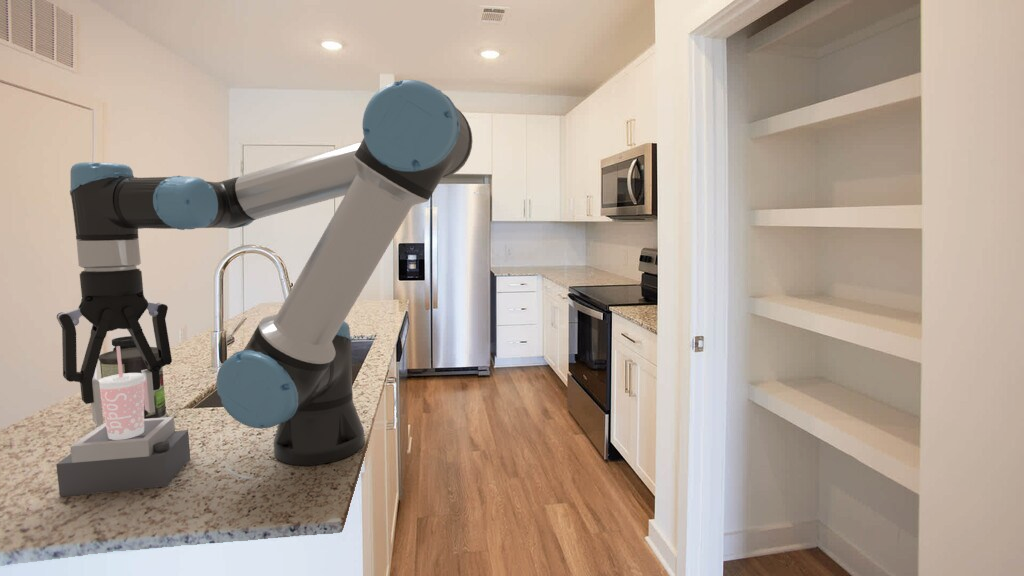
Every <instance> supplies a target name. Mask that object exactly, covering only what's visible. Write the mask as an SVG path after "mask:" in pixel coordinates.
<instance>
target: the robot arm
mask: <svg viewBox="0 0 1024 576" xmlns="http://www.w3.org/2000/svg"><path fill="white" fill-rule="evenodd" d="M361 125H362V133H363V139H362V141H358V142H355V143H351V144H348V145H344V146H340V147H336V148H334V149H330V150H326V151H323V152H318V153H316V154H313V155H310V156H305V157H301V158H299V159H295V160H291V161H288V162H284V163H282V164H278V165H275V166H270V167H267V168H264V169H260V170H257V171H253V172H250V173H245V174H243V175H240V176H237V177H233V178H229V179H226V180H225V179H224V180H222V181H217V182H214V181H207V180H205V179H203V178H200V177H195V176H193V177H191V176H183V175H173V176H159V177H158V176H156V177H155V176H154V177H152V176H151V177H135V176H134V173H133V169H132V168H131V167H130V166H129V165H127V164H120V163H111V162H87V161H86V162H77V163H75V164H73V165H72V166H71V168H70V174H69V175H70V191H69V195H70V197H71V199H70V200H71V204H72V210H73V211H72V212H73V221H74V230H75V238H76V239H75V240H76V248H77V251H76V252H77V260H78V266H79V267H80V268H82V269H84V270H82V271H81V272H79V283H80V284H79V285H80V292H81V301H80V304H79V306H78V308H76V309H73V310H70V311H66V312H59V313H57V315H56V320H57V322H58V324H59V325H60V327H61V333H62V334H61V335H62V336H61V337H62V345H61V346H62V376H63V378H64V379H65V380H66V381H67V382H70V383H71V382H76V383H79V384H80V385H79V386H80V394H81V400H82V402H83V403H84V404H85V405H89V404H90V405H91V416H92V422H93V423H94V424H95V425H96V426H100V425H102V424H103V423H104V417H103V416H104V414H103V406H102V401H101V395H100V385H99V381H98V380H99V379H96V378H94V376H95V373H96V369H97V365H98V362H99V356H100V355H101V350H102V347H103V344H104V340H105V338H106V337H107V334H108V332H112V331H116V330H118V329H120V330H126V331H128V333H129V335H130V336H132V338H133V340H134V342H135V344H136V346H137V348H138V350H139V352H140V354H141V356H142V358H143V360H144V362H145V364H146V366H147V369H148V370H147V369H146V370H141V373H143V374H144V375H145V381H144V382H143V383H144V407H145V410H146V411H147V412H149V413H154V412H155V403H154V392H153V390H158V389H159V388H160V377H159V371H160V370H161V367H162V368H163V367H165V366H167V365H168V366H169V365H171V364H172V362H173V358H172V352H171V346H170V340H169V334H168V328H167V321H166V317H167V314H168V309H169V307H168V305H167V304H164V303H161V302H157V303H155V302H149V301H148V300H147V298H146V297H145V295H144V284H143V274H142V270H141V269H140V268H138V267H137V266H139V265H141V264H142V260H141V251H140V241H139V230H140V229H143V230H144V229H154V230H157V229H158V230H159V229H160V230H180V231H185V230H195V229H210V228H211V229H215V228H216V229H221V228H222V229H236V228H242V227H246V226H249V225H251V224H253V222H254V221H256V220H259V219H262V218H266V217H270V216H273V215H277V214H280V213H284V212H288V211H292V210H296V209H299V208H302V207H307V206H310V205H315V204H318V203H321V202H325V201H329V200H334V199H336V198H337V199H338V198H341V197H343V198H342V200H341V202H340V203H339V205H338V207H337V208H336V211H335V213H334V214H333V216H332V218H331V219H330V221H329V223H328V224H327V226H326V228H325V230H324V231H323V233H322V235H321V237H320V238H319V240H318V242H317V243H316V245H315V248H314V249H313V251H312V252H311V255H309V258H308V260H307V261H306V263H305V266H303V269H302V270H301V271H300V274H299V276H298V277H297V279H296V280H295V282H294V284H293V286H292V288H291V289H290V291H289V293H288V294H287V297H286V299H285V300H284V302H283V304H282V305H281V307H280V308H279V311H278V312H277V314H274V315H269V316H265V317H263V318H262V319H261V320H260V321H259V323H258V325H257V327H256V328H255V330H254V331H253V334H252V335H251V337H250V339H249V341H248V342H247V344H246V345H245V347H244V349H242V350H239V351H236V352H234V353H232V355H230V356H229V357H228V358H227V359H226V360H225V361H223V363H222V364H221V366H220V367H219V370H218V372H217V375H216V380H215V381H216V382H215V383H216V386H215V387H216V393H217V396H219V397H220V400H221V405H222V407H223V408H224V410H225V411H226V413H228V415H229V416H231V417H232V418H233V419H234V420H235V421H237V422H239V423H240V424H242V425H243V426H246V427H248V428H249V427H250V428H253V429H261V430H262V429H269V428H274V427H276V426H277V428H276V431H275V436H274V439H273V453H274V454H273V455H274V457H275V458H276V459H277V460H278V461H280V462H282V463H285V464H289V465H296V466H311V465H313V466H314V465H315V466H316V465H322V464H327V463H332V462H336V461H339V460H344V459H345V458H348V457H350V456H352V455H353V454H355V453H357V452H359V451H360V450H361V449H362V448H363V446H364V444H365V430H364V426H363V424H362V422H361V419H360V416H359V413H358V412H357V409H356V405H355V404H354V401H353V400H354V399H353V398H354V397H353V395H354V394H353V368H352V366H353V365H352V364H353V363H352V337H351V331H350V326H349V324H348V322H347V321H345V320H346V318H347V317H348V315H349V313H350V312H351V310H352V308H353V306H355V304H356V302H357V300H358V299H359V297H360V295H361V293H362V292H363V290H364V288H365V286H366V285H367V283H368V281H369V280H370V278H371V276H372V274H373V273H374V272H375V270H376V268H377V266H378V264H379V263H380V261H381V259H382V258H383V256H384V255H385V252H386V250H387V249H388V247H389V246H390V245H391V243H392V241H393V239H394V237H395V236H396V234H397V232H398V231H399V229H400V227H401V225H402V224H403V222H404V221H405V219H406V217H407V216H408V214H409V212H410V211H411V209H412V207H414V206H415V205H418V204H419V205H420V204H422V203H427V202H429V200H430V198H431V197H432V195H433V193H434V192H435V190H436V188H438V185H439V184H440V182H441V180H442V179H445V178H448V177H450V176H453V175H454V174H455V173H458V172H459V171H460V170H461V169H462V168H463V167H464V166H465V164H466V163H467V161H468V159H469V158H470V155H471V152H472V150H473V132H472V129H471V127H470V124H469V121H468V119H467V117H466V116H465V115H464V114H463V113H462V112H461V110H459V109H458V108H457V106H456V105H455V104H454V102H453V101H452V99H451V98H450V97H449V96H447V94H445V93H444V92H443V91H442V90H440V89H437V88H436V87H435V86H433V85H431V84H429V83H427V82H426V81H425V82H424V81H422V80H421V81H420V80H417V79H401V80H397V81H393V82H390V83H388V84H386V85H384V86H383V87H382V88H380V89H379V90H378V91H377V92H376V93H375V94H374V95H373V96H372V97H371V98H370V100H369V101H368V103H367V105H366V107H365V109H364V113H363V117H362V124H361ZM146 311H148V314H149V316H150V317H151V320H152V327H153V333H154V338H155V345H156V346H155V347H157V352H158V358H157V359H156V358H155V356H154V354H153V352H152V350H151V348H150V347H151V346H150V344H149V342H148V339H147V338H146V336H145V333H144V331H143V328H142V326H141V324H140V322H139V320H140V319H141V317H142V316H143V315H144V313H145V312H146ZM82 317H84V318H85V319H86V320H87V321H88V322H89V323H90V324H91V325H92V326H91V330H90V336H89V339H88V344H87V347H86V350H85V353H84V357H83V361H82V364H81V368H80V370H79V371H78V369H77V367H78V365H77V362H78V361H77V358H78V357H77V352H78V351H77V329H76V326H78V325H79V323H80V318H82Z"/></svg>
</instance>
